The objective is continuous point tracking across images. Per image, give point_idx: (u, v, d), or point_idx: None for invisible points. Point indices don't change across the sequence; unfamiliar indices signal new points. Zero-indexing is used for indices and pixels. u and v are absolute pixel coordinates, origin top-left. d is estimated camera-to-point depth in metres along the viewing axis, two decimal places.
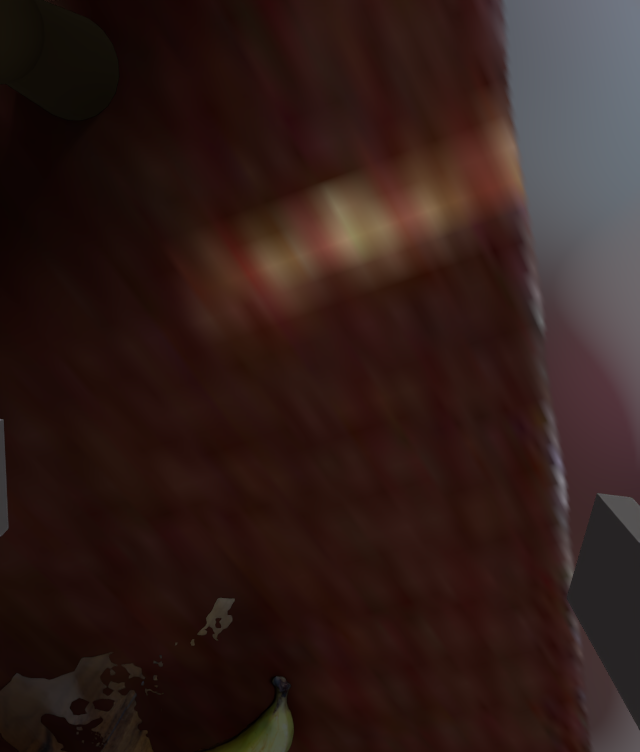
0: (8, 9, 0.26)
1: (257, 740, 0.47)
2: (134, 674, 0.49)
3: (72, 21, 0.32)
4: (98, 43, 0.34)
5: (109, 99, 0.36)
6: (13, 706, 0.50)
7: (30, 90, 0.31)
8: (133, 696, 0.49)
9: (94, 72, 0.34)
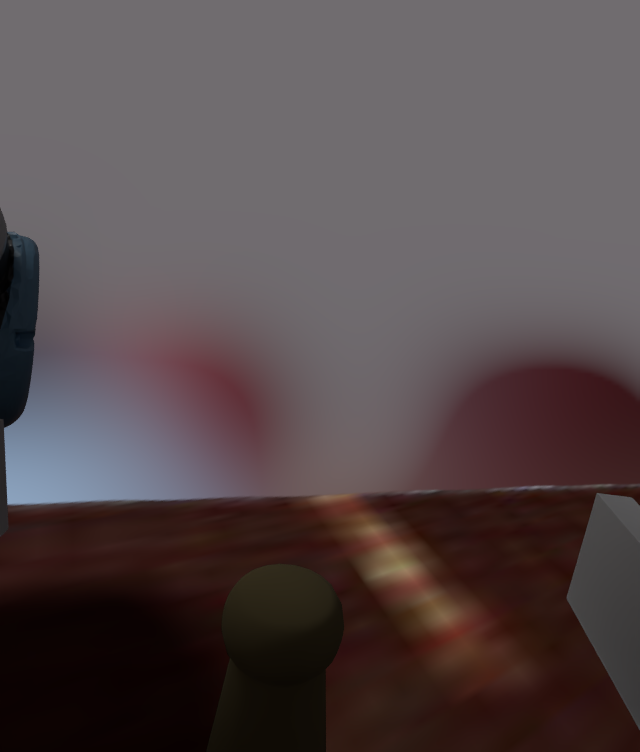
0: (284, 564, 0.27)
1: None
2: None
3: None
4: None
5: None
6: None
7: None
8: None
9: None
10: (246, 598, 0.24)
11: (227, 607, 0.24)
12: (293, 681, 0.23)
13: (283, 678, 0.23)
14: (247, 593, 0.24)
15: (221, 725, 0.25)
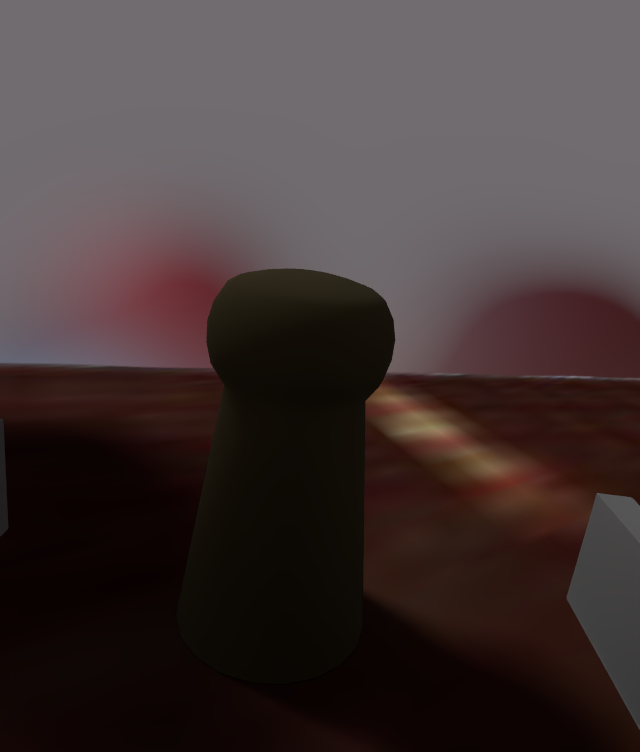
0: None
1: None
2: None
3: None
4: None
5: None
6: None
7: None
8: None
9: None
10: (245, 279, 0.15)
11: (215, 300, 0.16)
12: (322, 392, 0.14)
13: (306, 384, 0.14)
14: (246, 276, 0.15)
15: (207, 501, 0.17)
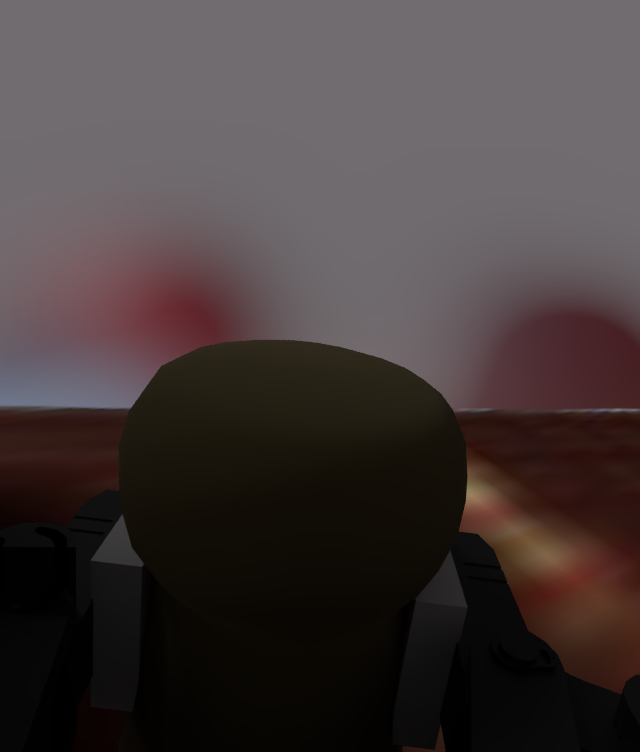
0: None
1: None
2: None
3: None
4: None
5: None
6: None
7: None
8: None
9: None
10: (186, 374, 0.08)
11: (131, 410, 0.08)
12: (334, 617, 0.07)
13: (302, 606, 0.07)
14: (190, 366, 0.08)
15: None
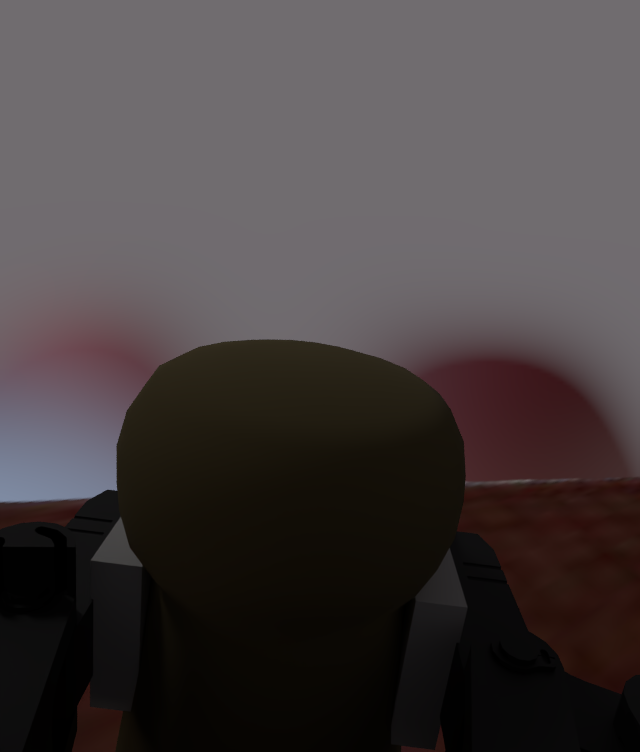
0: None
1: None
2: None
3: None
4: None
5: None
6: None
7: None
8: None
9: None
10: (183, 374, 0.08)
11: (129, 409, 0.08)
12: (332, 617, 0.07)
13: (301, 606, 0.07)
14: (188, 366, 0.08)
15: None
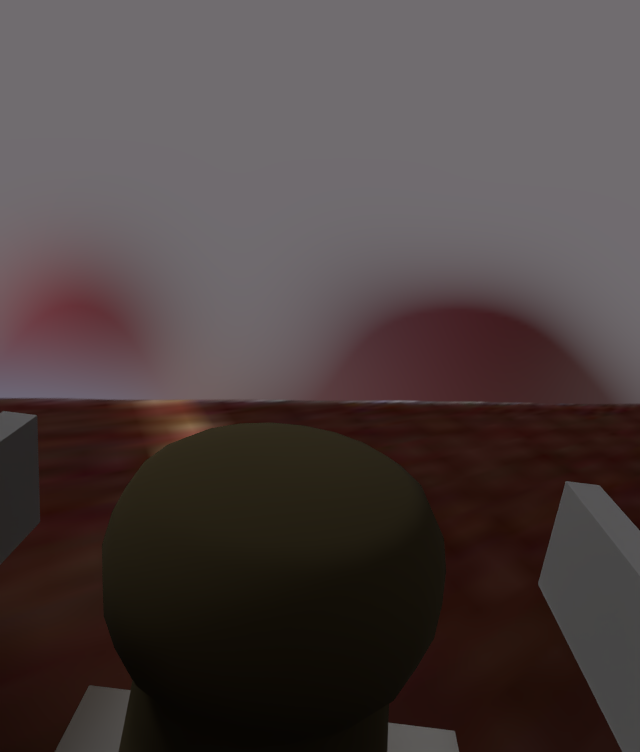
0: None
1: None
2: None
3: None
4: None
5: None
6: None
7: None
8: None
9: None
10: (167, 481, 0.08)
11: (114, 512, 0.08)
12: (310, 731, 0.07)
13: (279, 723, 0.07)
14: (171, 469, 0.08)
15: None
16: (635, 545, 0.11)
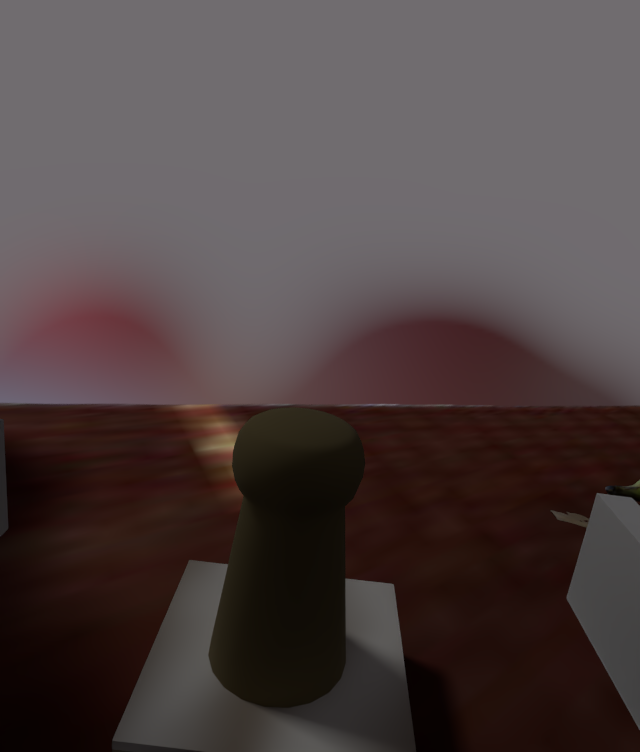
0: None
1: None
2: None
3: None
4: None
5: None
6: None
7: None
8: None
9: None
10: (259, 426, 0.22)
11: (238, 439, 0.22)
12: (312, 508, 0.21)
13: (302, 504, 0.21)
14: (260, 423, 0.22)
15: (232, 576, 0.23)
16: None
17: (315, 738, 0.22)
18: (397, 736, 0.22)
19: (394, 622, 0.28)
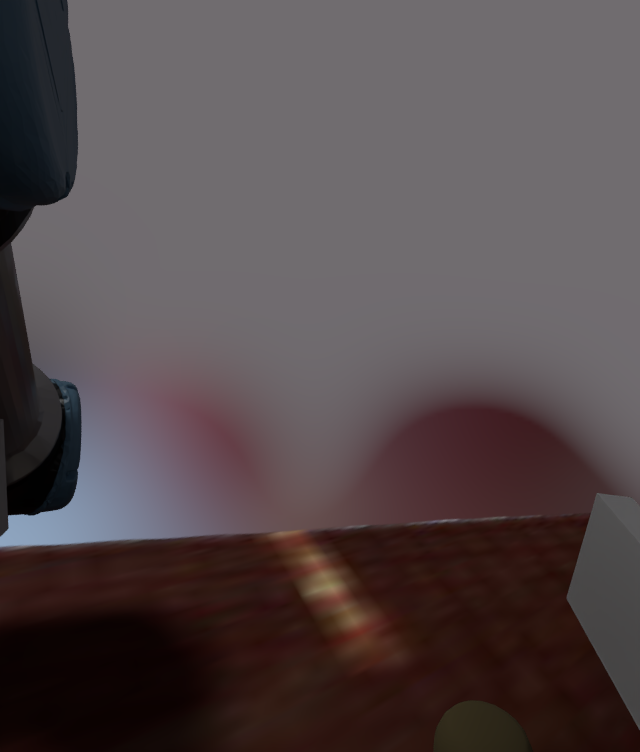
0: (474, 701, 0.33)
1: None
2: None
3: None
4: None
5: None
6: None
7: None
8: None
9: None
10: (462, 740, 0.30)
11: (444, 746, 0.31)
12: None
13: None
14: (460, 735, 0.31)
15: None
16: None
17: None
18: None
19: None
